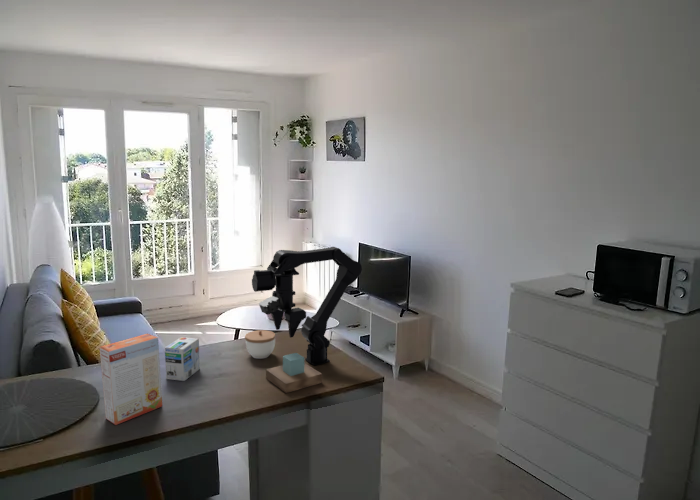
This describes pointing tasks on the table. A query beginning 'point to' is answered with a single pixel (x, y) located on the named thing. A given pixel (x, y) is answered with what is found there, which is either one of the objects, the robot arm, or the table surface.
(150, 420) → the table surface
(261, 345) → the lidded jar
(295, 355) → the block
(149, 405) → the cracker box
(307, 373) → the plinth
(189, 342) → the light bulb box
